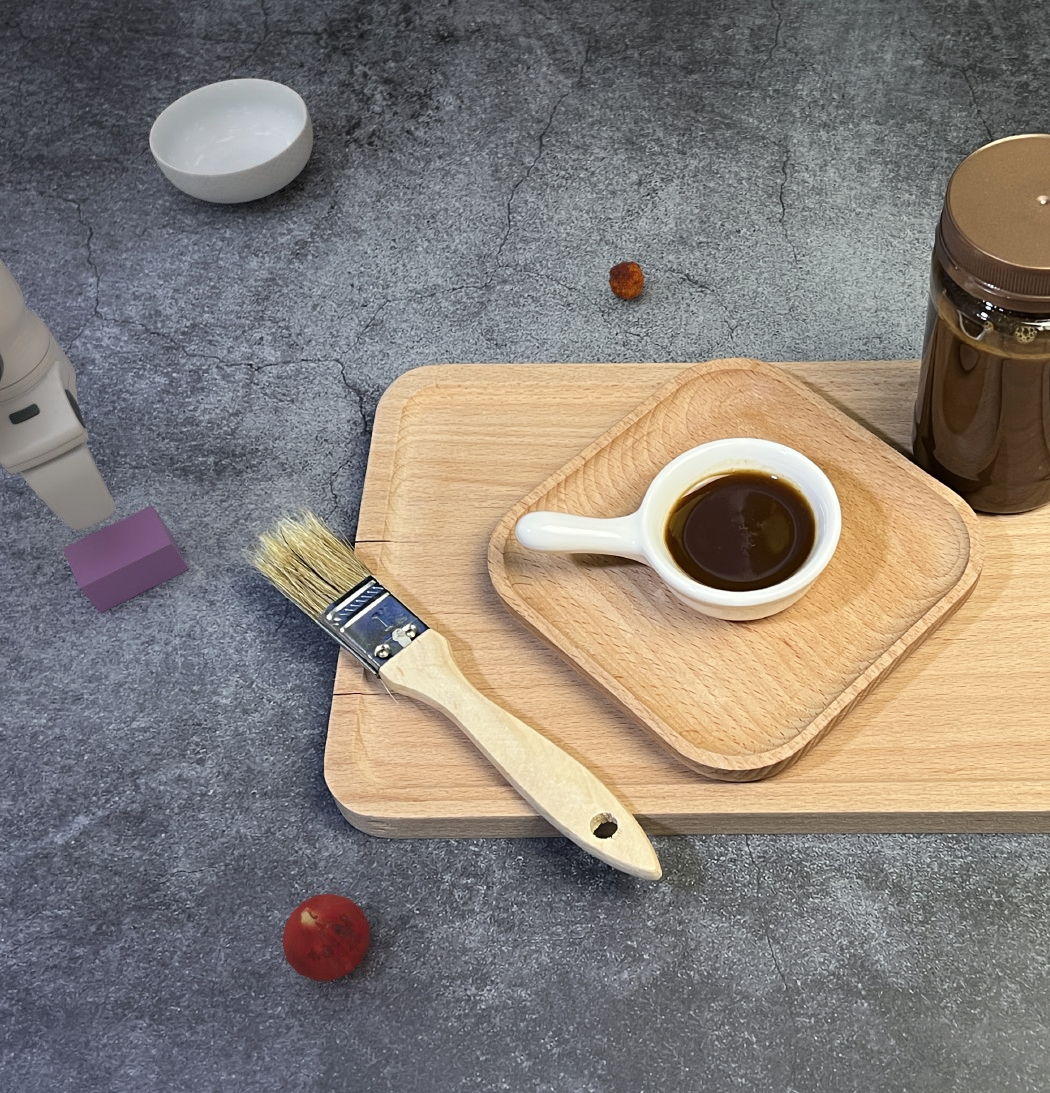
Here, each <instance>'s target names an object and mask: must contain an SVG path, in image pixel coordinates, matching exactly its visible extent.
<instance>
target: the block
mask: <svg viewBox="0 0 1050 1093" xmlns="http://www.w3.org/2000/svg"><path fill="white" fill-rule="evenodd" d="M171 532H172V531H170V529H169V528H168V526H167V525H166V523H165V522H164V520H163V518H162V517H161V516H160V514H159V513H158V511H157V510H156V508H155V507H154V505H149V506H148V507H145V508H143V509H141V510H139V511H137V512H134V513H133V514H130V515H129V516H127V517H125V518H122V519H120V520H118V521H116V522H114V523H112V524H110V525H108V526H106V527H103V528H102V529H100V530H97V531H95V532H94V533H91V534H89V535H87V536H84V537H82V538H81V539H79V540H76V541H75V542H72V543H70V544H68V545H66V546H64V547H62V551H63V553H64V555H65V557H66V560H67V563H68V564H69V567H70V569H71V571H72V573H73V576H74V578H75V580H76V582H77V585H78V587H79V590H81V592H82V593H83V594H84V595H85V597H86V598H88V600H89V601H90V603H91V604H92V605H93V606H94V607H95V608H96V610H97V611H98V612H99V613H100V614H103V613H104V612H106V611H109V610H110V609H112V608H114V607H116V606H118V605H121V604H122V603H124V602H126V601H128V600H130V599H132V598H134V597H136V596H139V595H140V594H142V593H145V592H146V591H148V590H150V589H153V588H155V587H156V586H158V585H160V584H162V583H165V582H166V581H168V580H170V579H172V578H175V577H177V576H178V575H181V574H183V573H184V572H187V571H188V570H189V568H190V567H189V566H188V564H187V562H186V560H185V558H184V556H183V554H182V552H181V551H180V548H179V546H178V544H177V543H176V540H175V538H174V537H173V534H172V533H171Z"/></svg>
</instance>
